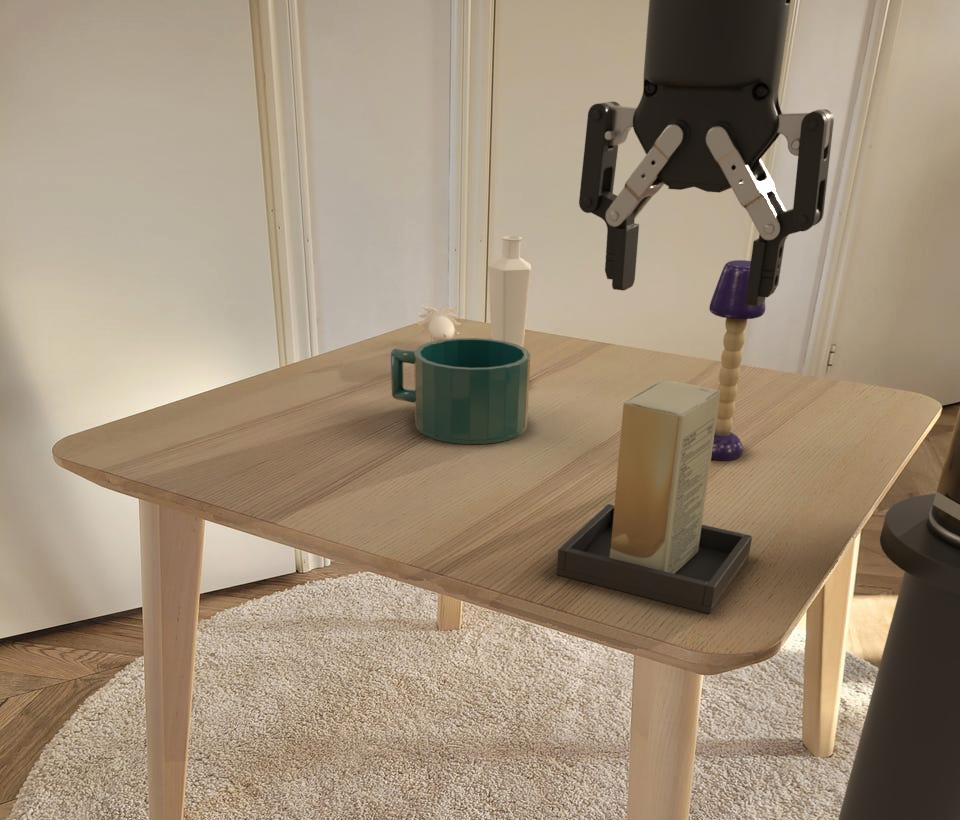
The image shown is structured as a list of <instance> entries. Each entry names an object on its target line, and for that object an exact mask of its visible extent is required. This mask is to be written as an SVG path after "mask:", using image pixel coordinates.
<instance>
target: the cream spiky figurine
mask: <svg viewBox="0 0 960 820" xmlns="http://www.w3.org/2000/svg"><path fill="white" fill-rule="evenodd" d="M422 308H423V310H424V312H425V313H417V315H418V316H419V318H422V319H424V318H425V319H424V320H422V321H420V322H416V324H417V325H418V326H420V327H422V329H420V331H419V330H418V333H419V334H424V333H425V332H426V331H427V329H428V333H429V343H430V342H434V341H439V340H445V339H453V338H454V336H455V335H459V334H460V332H458V331H457V330H456V328H455V326H460V325H462V322H457V320H456V319H458V318H459V317H460V315H461V314H460V313H458V314H454V312H456V310H457V308H458V305H457V304H456V305H455V306H454V307H453V306H452V307H448V306H447V307H444V308H442V309H441V311H440V313H439V311H438V310H437V309H436V308H434V307H430V306H429V307H427V306H424V305H422Z"/></svg>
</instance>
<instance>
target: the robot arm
mask: <svg viewBox="0 0 960 820" xmlns="http://www.w3.org/2000/svg"><path fill="white" fill-rule="evenodd" d="M791 3H792V0H649V2H648V14H647V27H646V39H645V50H644V51H645V53H644V62H643V63H644V64H643V87H642V88H643V91H642V95H641V97H640V101H639V103H638V105H637V106H636V107H630V106H623V105H622V106H621V105H620V103H619V102H617V101H607V102H606V101H605V102H598V103H594V104H593V105H591V106H590V107H589V110H588V111H587V119H586V129H585V140H584V150H583V159H582V170H581V179H580V189H579V199H578V205H579V208H580V209H581V211H582V212H584V213H586V214H593V215H595V216H596V217H599V218H600V219H602V220H603V221H604V223H605V225H606V229H607V231H606V248H605V262H604V263H605V264H604V273H605V276H606V279H607V280H611V288H612V289H613V290H616V291H627V290H629V289H631V288H632V287H633V286H634V284H635V280H636V269H637V266H636V265H637V258H638V257H637V256H638V246H639V245H638V244H639V232H640V231H639V230H640V223H635V219H636V218H637V217H638V216H639V215H640V213H641V212H642V210H643V209H644V208H645V207H646V205H647V204H648V203H649V201H650V200H651V199H652V198H653V197H654V195H656V194H657V193H658V192H659V191H660V190H661V189H662V188H663V186H666V187H667V189H668V190H675V191H677V190H679V191H681V190H686V189H690V188H696V189H699V190H702V191H705V192H707V193H720V194H721V193H722V192H725V191H727V190H730V189H731V190H732V191H733V193H734V195H735V197H736V199H737V201H738V203H739V204H740V205H741V207H742V208H743V209H745V210H746V212H747V213H748V215H749V217H750V219H751V221H752V223H753V225H754V226H755V229H756V230H757V232H758V234H759V235H758V238H757V239H754V240H753V241H752V242H753V243H752V250H751V257H750V261H751V264H750V271H749V279H748V286H747V293H746V305H748V306H756V307H758V306H759V305H761V304H762V303H763V302H764V301H765V302H766V298H770V296H771V295H773V294H775V292H776V289H777V287H778V286H779V282H780V276H781V275H780V274H781V268H782V262H783V256H784V249H785V243H786V240H787V239H788V236H789V235H793V234H796V233H799V232H806V231H809V230H810V229H811V228H812V227H813V226H816V225H817V224H819V223H820V222H821V221H822V219H823V218H824V212H825V204H826V203H825V202H826V195H827V185H828V176H829V169H830V160H831V159H830V158H831V151H832V150H831V148H832V141H833V131H834V122H835V121H834V120H835V118H834V114H833V113H832V112H831V110H829V109H824V108H823V109H816V110H813V111H811V112H795V113H794V112H793V113H792V112H791V113H783V112H782V108H781V105H780V102H779V101H780V100H779V90H780V89H779V88H780V83H781V76H782V69H783V61H784V54H785V47H786V40H787V33H788V26H789V17H790V10H791ZM631 129H633V132H634V133H635V136H636V137H637V139H638V141H639V143H640V145H641V147H642V149H643V151H644V153H645V156H644V157H643V159H642V160H641V161H640V163H639V164H638V165H637V166H636V168H635V169H634V171H633V172H632V173H631V174H630V176H629V177H628V178H627V180H626V181H625V183H624V187H623V188H622V190H621V191H620V192H619V193H618V195H617V194H614V184H615V178H616V168H617V160H618V152H619V145H622V144H624V143H625V142H626V140H627V138H628V135H629V132H630V131H631ZM780 135H782V136H784V138H785V139H786V142H787V149H788V151H789V153H790V154H791V155H793V156H795V157H797V165H796V174H795V175H796V176H795V184H794V185H795V187H794V197H793V206H792V208H791V209H788V210H786V208H785V206H784V204H783V202H782V200H781V199H780V196H779V195H778V193H777V191H776V190H777V189H776V185H775V182H774V181H773V179H772V177H771V175H770V173H769V170H768V169H767V168H766V165H765V163H764V162H763V159H762V158H763V156H764V155H765V154H766V153H767V152H768V150H769V149H770V148H771V147H772V145H774V143H775V142H776V140H777V139H778V138H779V136H780ZM934 494H935V497H934V500H933V506H932V507H931V509H930V512H929V516H928V519H927V526H928V528H929V530H930V531H931V532H932V533H933V534H934V535H935V536H936V537H937V538H939V539H940V540H942V541H943V542H945V543H947V544H949V545H951V546H953V547H955V548H957V549H960V407H959V409H958V412H957V416H956V419H955V423H954V426H953V430H952V434H951V437H950V440H949V445H948V448H947V452H946V455H945V459H944V462H943V466H942V471H941V474H940V477H939V481H938V484H937V489H936V491H935V493H934Z"/></svg>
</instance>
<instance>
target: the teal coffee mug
mask: <svg viewBox="0 0 960 820" xmlns="http://www.w3.org/2000/svg"><path fill="white" fill-rule="evenodd" d="M404 363H405V364H409V365H410V364H411V365H413V371H414V373H413V374H414V376H413V377H414V379H413V380H414V381H413V382H414V389H409V388H405V385H404ZM530 372H531V353H530V352H529V350H528V349H527V348H525V347H524V346H523V347H521V346H519V345H516V344H513V343H509V342H506V341H499V340H493V339H492V338H482V337H481V338H480V337H478V338H477V337H456V338H452V339H445V340H439V341H436V340H435V341H434V342H430V341H429V342H427V343H424V344H422V345H419V346H417V348H416V349H415V350H409V349H403V348H398V347H397V348H393V349H392V350H391V351H390V375H391V376H390V380H391V384H390V385H391V397H392V398H393V399H394V400H396V401H397V400H398V401H401V402H402V401H403V402H408V403H414V420H415V427H416V429H417V431H418V432H419V433H421V434H422V435H424V436H426V437H428V438H430V439H433V440H437V441H440V442H444V443H451V444H459V445H488V444H496V443H503V442H506V441H510V440H513V439H515V438H517V437H519V436H521V435H522V434H524V433H525V431H526V429H527V425H528V419H529V417H528V415H529V394H530V375H531V373H530Z"/></svg>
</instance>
